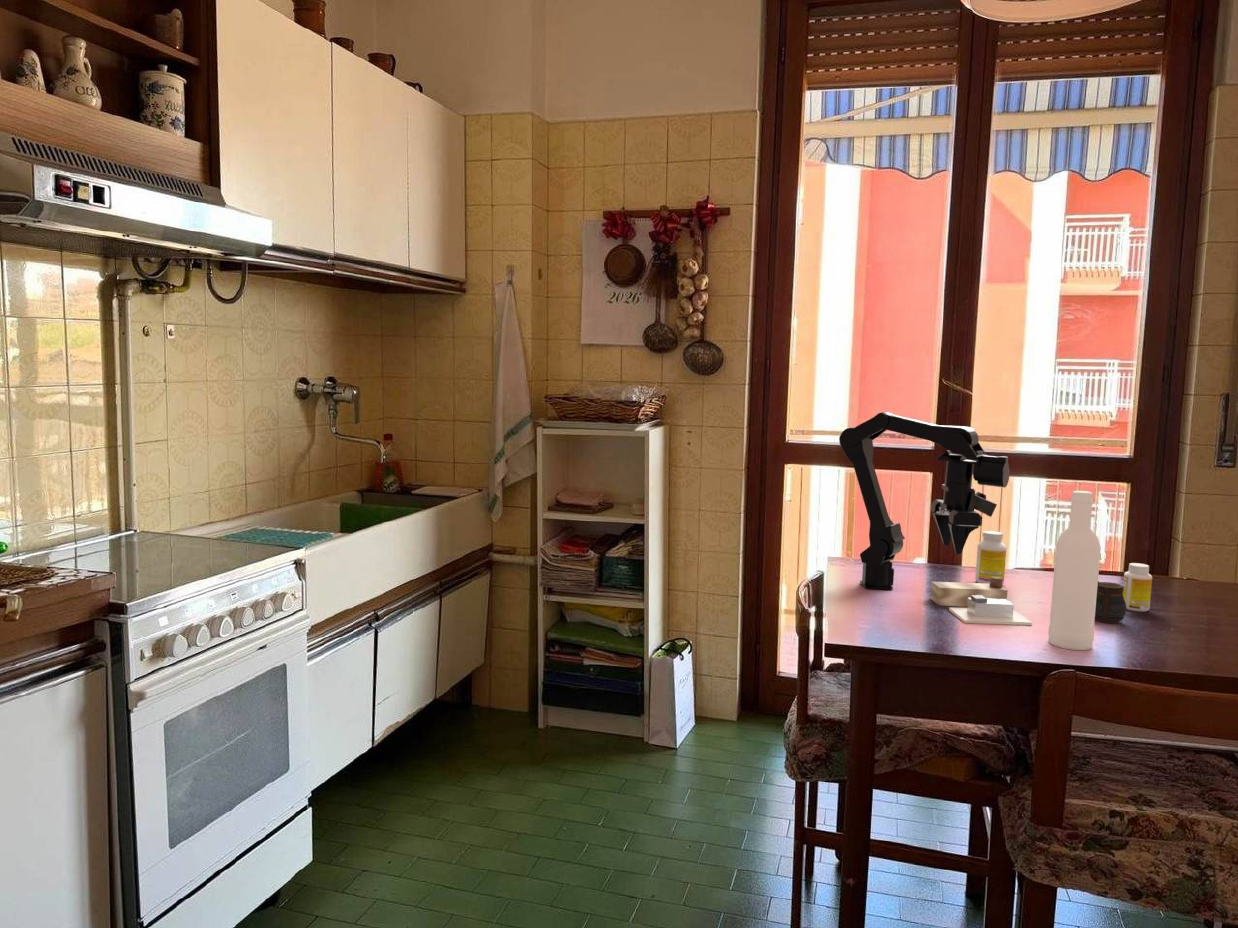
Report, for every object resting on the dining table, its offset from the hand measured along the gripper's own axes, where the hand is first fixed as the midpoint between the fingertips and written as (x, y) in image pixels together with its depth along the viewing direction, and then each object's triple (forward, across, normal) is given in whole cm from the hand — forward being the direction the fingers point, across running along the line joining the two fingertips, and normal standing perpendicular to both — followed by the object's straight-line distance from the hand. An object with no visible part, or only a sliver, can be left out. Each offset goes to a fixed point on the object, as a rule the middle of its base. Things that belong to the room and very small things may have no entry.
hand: (952, 549), depth 212 cm
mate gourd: (+11, -14, -29) cm, 34 cm away
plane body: (+12, -3, -4) cm, 13 cm away
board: (+11, -15, -4) cm, 19 cm away
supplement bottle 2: (+11, -2, -41) cm, 43 cm away
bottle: (+11, -33, -14) cm, 37 cm away
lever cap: (+11, -15, -4) cm, 19 cm away
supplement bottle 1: (+12, +18, -16) cm, 27 cm away
